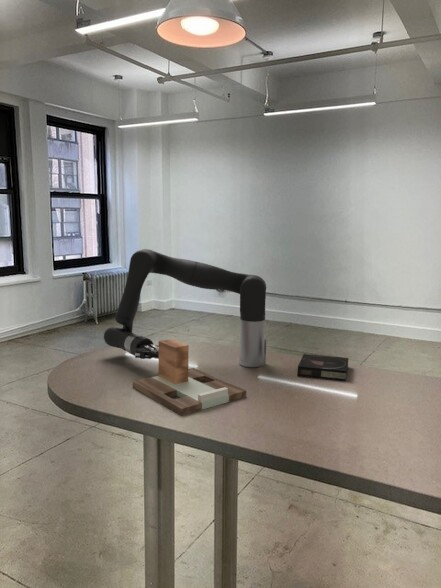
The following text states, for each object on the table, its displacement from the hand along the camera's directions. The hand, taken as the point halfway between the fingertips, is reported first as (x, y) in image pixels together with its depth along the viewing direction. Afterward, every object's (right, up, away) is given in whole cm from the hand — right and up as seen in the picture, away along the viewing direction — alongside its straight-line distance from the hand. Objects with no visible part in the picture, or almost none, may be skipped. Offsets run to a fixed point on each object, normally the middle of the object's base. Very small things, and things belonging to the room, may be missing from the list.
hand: (164, 357), depth 164 cm
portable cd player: (+56, -8, +13) cm, 58 cm away
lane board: (+9, -10, -9) cm, 16 cm away
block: (+3, -7, -3) cm, 8 cm away
